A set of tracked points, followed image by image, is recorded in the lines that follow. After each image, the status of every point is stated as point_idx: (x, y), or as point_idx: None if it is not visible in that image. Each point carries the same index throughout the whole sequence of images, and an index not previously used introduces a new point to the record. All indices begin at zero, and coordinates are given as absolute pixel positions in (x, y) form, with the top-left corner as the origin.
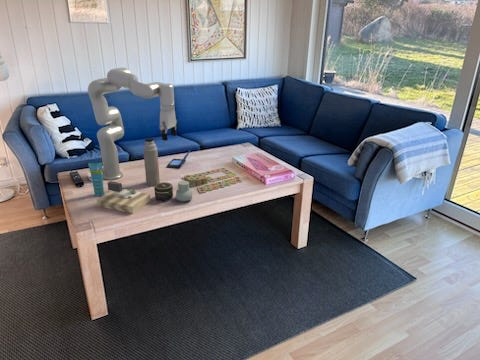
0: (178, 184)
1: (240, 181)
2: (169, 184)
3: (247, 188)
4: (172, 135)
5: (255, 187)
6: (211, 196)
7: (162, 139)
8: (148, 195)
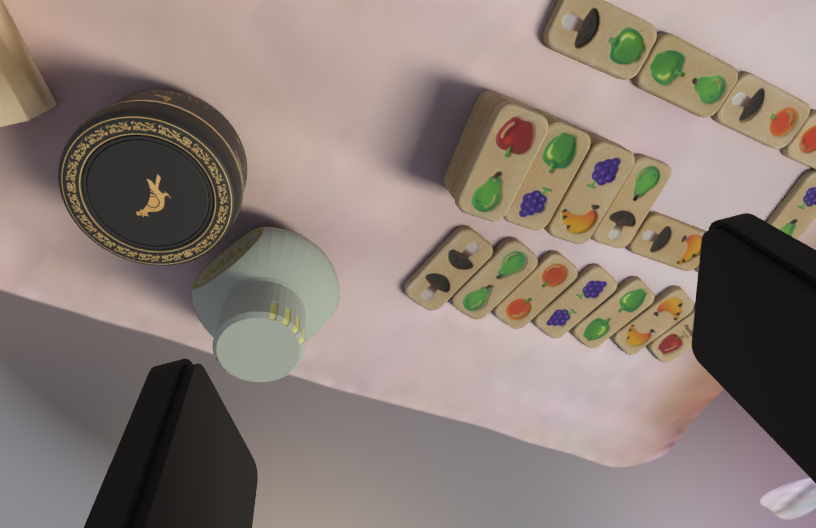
0: (216, 329)
1: (661, 359)
2: (207, 220)
3: (592, 420)
4: (701, 267)
5: (620, 437)
6: (405, 359)
7: (157, 383)
8: (6, 125)
